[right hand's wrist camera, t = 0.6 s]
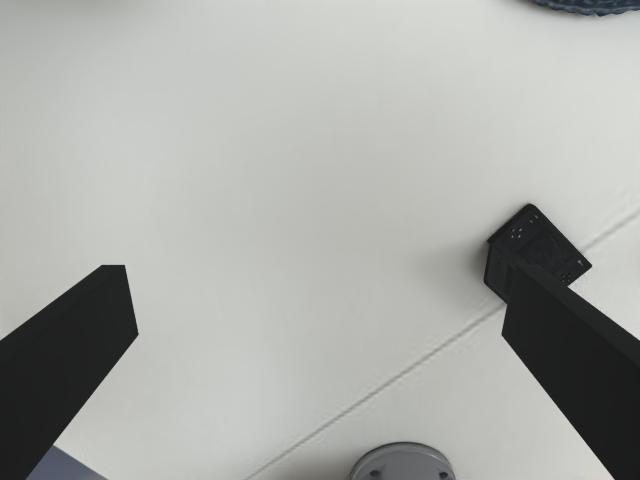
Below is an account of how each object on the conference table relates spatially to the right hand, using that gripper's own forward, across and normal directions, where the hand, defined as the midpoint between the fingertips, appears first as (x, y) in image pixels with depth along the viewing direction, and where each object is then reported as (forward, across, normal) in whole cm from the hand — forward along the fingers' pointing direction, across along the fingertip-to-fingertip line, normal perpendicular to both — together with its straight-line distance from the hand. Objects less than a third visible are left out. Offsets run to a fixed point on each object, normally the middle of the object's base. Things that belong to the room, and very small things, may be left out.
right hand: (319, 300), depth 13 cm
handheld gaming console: (+28, -24, +11) cm, 38 cm away
